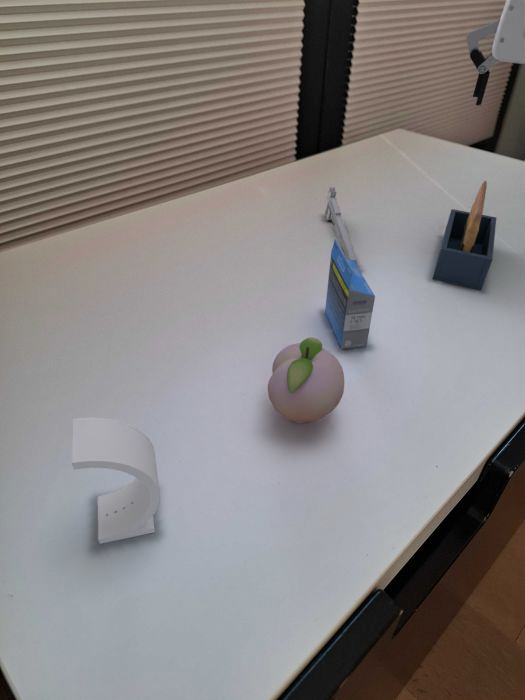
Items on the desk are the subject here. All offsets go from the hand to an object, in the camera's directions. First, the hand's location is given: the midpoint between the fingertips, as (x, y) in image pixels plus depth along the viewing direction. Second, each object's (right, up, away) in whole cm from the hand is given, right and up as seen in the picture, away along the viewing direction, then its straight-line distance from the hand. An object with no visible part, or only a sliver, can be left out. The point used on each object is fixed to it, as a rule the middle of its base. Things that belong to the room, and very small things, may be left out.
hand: (514, 107), depth 72 cm
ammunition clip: (-2, -19, +15) cm, 24 cm away
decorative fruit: (-31, -42, -13) cm, 54 cm away
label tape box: (-24, -32, 0) cm, 40 cm away
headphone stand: (-48, -50, -23) cm, 74 cm away
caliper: (-22, -15, +19) cm, 33 cm away
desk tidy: (-2, -19, +15) cm, 24 cm away
